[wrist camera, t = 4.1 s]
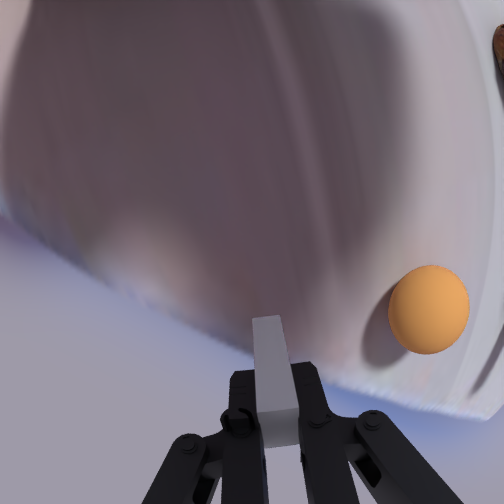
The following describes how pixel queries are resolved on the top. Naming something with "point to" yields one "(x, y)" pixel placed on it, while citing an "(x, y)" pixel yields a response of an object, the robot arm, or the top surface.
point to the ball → (428, 309)
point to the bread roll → (499, 46)
